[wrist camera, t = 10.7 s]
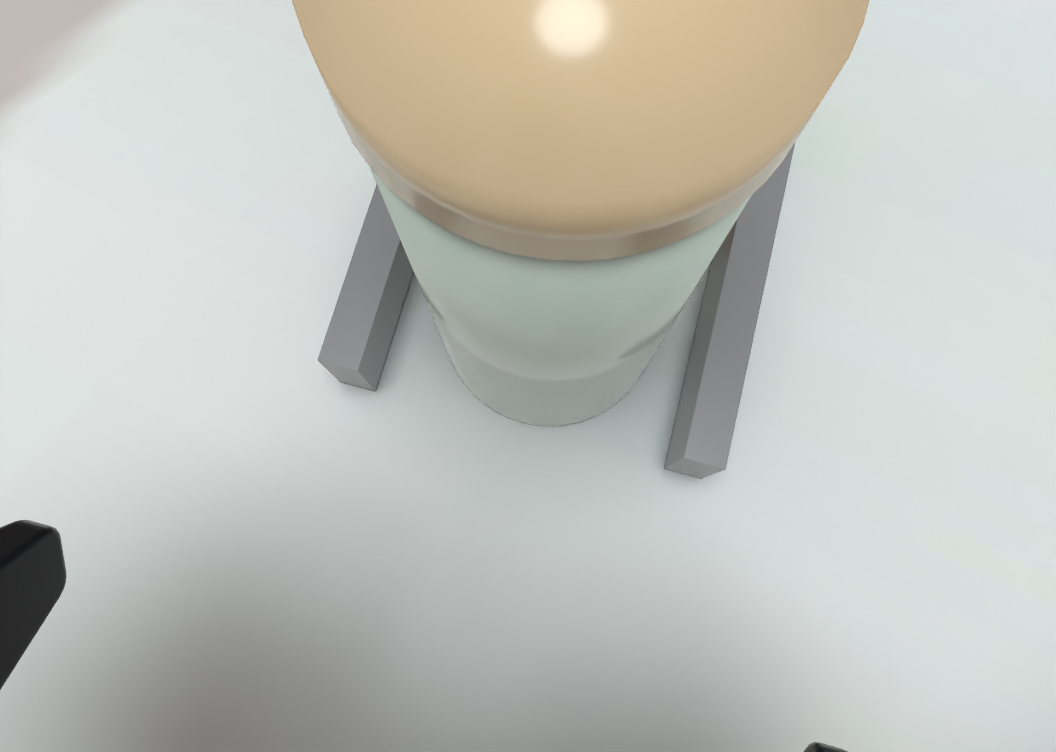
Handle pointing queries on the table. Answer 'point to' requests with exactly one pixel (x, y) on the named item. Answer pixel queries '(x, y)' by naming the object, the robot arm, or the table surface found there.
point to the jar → (570, 164)
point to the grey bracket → (715, 352)
